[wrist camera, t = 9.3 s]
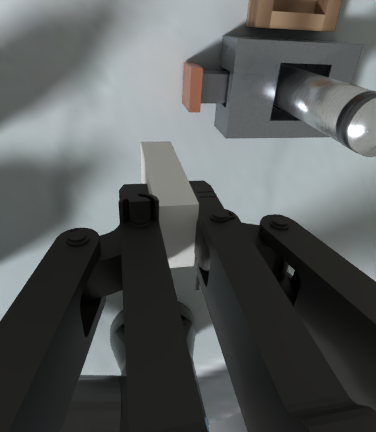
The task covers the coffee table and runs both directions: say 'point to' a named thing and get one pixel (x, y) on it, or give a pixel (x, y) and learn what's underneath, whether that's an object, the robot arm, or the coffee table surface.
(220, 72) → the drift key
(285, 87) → the peg
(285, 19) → the brown square tray
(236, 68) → the socket block
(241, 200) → the coffee table surface
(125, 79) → the coffee table surface
